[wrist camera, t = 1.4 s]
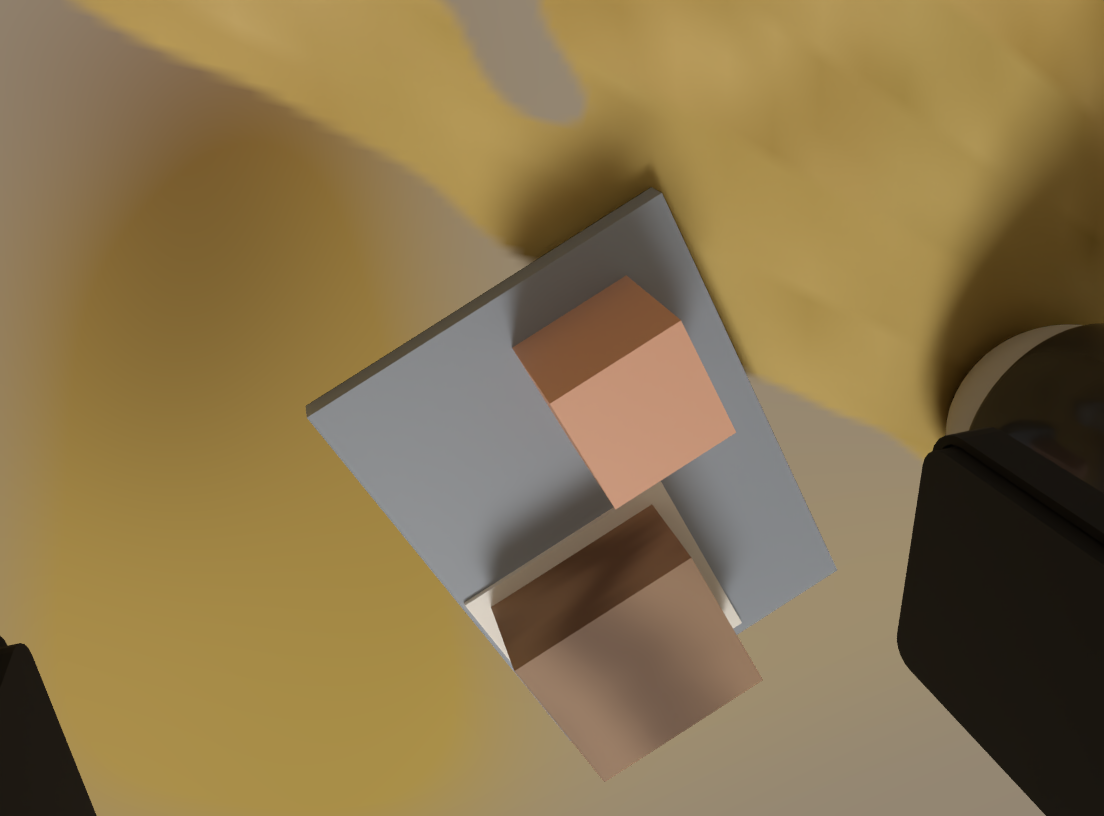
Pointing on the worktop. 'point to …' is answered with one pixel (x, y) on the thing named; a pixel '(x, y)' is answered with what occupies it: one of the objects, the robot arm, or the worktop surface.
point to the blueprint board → (565, 440)
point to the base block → (624, 644)
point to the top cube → (626, 389)
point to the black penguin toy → (1042, 396)
